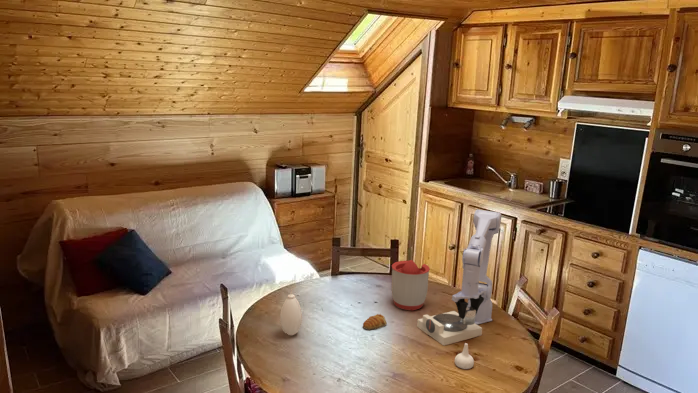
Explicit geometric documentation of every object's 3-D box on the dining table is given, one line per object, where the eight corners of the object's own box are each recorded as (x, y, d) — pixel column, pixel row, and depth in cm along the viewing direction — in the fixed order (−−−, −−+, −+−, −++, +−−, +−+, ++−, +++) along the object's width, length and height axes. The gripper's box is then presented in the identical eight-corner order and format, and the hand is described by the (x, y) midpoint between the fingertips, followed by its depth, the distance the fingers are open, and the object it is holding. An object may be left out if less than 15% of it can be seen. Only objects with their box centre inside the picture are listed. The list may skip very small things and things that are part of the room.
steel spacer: (467, 317, 193) (469, 304, 192) (477, 323, 189) (478, 310, 188) (457, 320, 190) (458, 307, 189) (467, 326, 186) (468, 313, 185)
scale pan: (451, 313, 206) (451, 311, 206) (474, 327, 195) (474, 325, 194) (425, 319, 200) (425, 317, 199) (447, 334, 188) (447, 332, 188)
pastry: (370, 333, 194) (371, 324, 193) (358, 327, 199) (358, 317, 198) (388, 326, 201) (388, 316, 200) (375, 319, 205) (375, 310, 205)
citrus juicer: (434, 301, 223) (438, 257, 219) (417, 316, 209) (420, 269, 204) (401, 293, 231) (404, 250, 227) (382, 306, 217) (385, 261, 212)
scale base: (453, 317, 209) (454, 302, 207) (481, 335, 195) (483, 319, 194) (416, 326, 200) (417, 311, 199) (442, 345, 187) (444, 329, 185)
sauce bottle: (305, 332, 193) (306, 286, 189) (294, 341, 186) (295, 294, 182) (287, 327, 196) (287, 282, 192) (276, 336, 189) (276, 290, 185)
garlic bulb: (461, 372, 171) (464, 352, 168) (450, 361, 176) (453, 341, 174) (476, 369, 173) (480, 348, 171) (465, 358, 179) (469, 338, 176)
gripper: (462, 288, 180) (459, 324, 183) (493, 281, 187) (490, 316, 190) (449, 281, 185) (446, 316, 189) (479, 275, 193) (476, 308, 196)
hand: (467, 316), depth 190 cm, fingers closed on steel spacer, 5 cm apart
